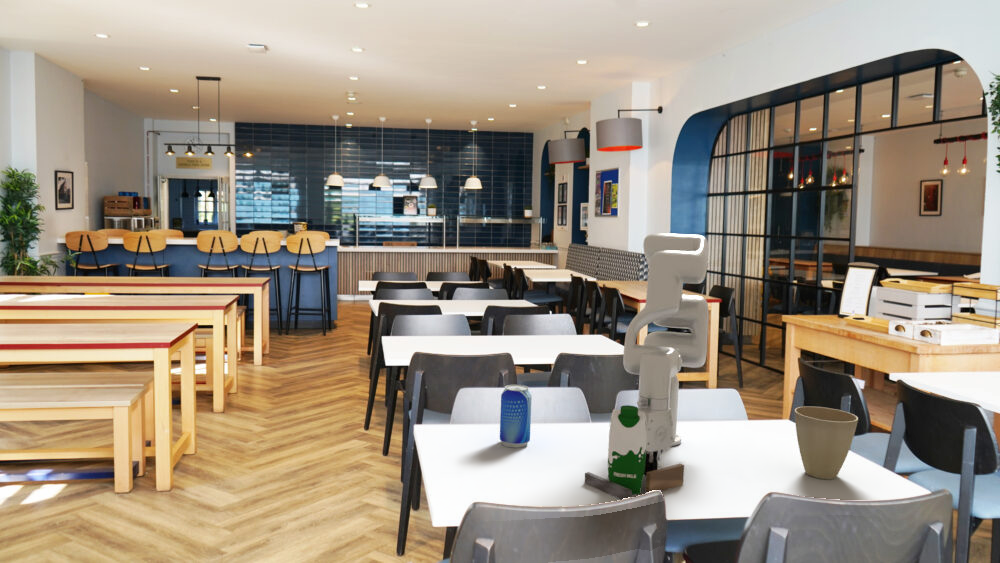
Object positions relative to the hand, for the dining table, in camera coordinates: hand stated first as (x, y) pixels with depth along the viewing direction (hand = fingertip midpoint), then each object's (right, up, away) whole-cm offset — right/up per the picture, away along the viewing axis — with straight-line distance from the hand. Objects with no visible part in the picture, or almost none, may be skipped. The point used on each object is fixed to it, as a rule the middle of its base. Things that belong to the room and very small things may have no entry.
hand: (649, 476), depth 187 cm
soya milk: (-7, -2, -6) cm, 9 cm away
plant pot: (+46, -2, +8) cm, 46 cm away
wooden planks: (-4, -1, -3) cm, 6 cm away
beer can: (-33, +2, +25) cm, 41 cm away
